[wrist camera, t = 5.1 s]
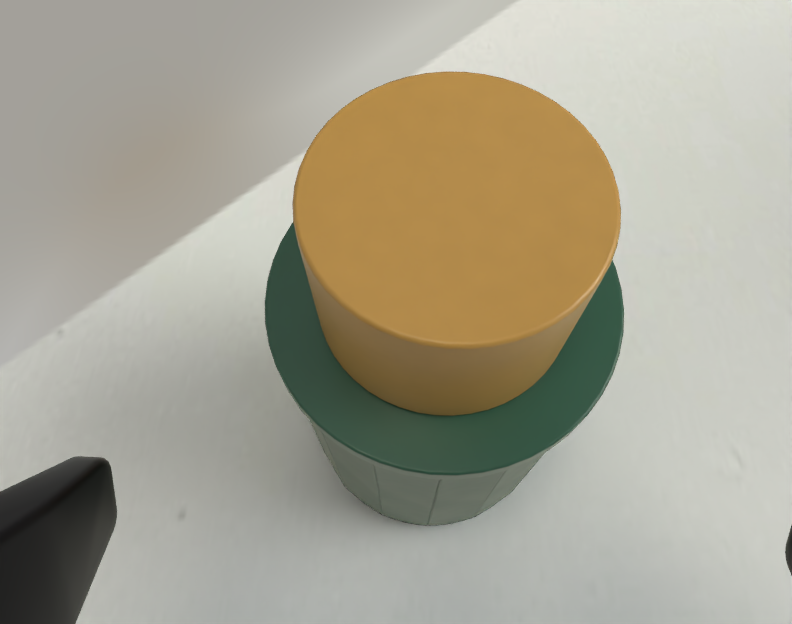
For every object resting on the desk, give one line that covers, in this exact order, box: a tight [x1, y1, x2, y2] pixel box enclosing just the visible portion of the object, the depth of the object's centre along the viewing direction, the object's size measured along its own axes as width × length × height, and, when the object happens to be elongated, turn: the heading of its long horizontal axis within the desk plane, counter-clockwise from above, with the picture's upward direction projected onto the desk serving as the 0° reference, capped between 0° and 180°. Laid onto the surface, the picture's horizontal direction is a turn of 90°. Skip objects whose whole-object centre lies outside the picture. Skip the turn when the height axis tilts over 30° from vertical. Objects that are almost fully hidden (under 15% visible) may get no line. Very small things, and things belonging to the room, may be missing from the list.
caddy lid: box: [265, 72, 624, 480], centre depth 13 cm, size 7×7×5 cm
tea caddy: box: [310, 421, 544, 526], centre depth 18 cm, size 7×7×8 cm
